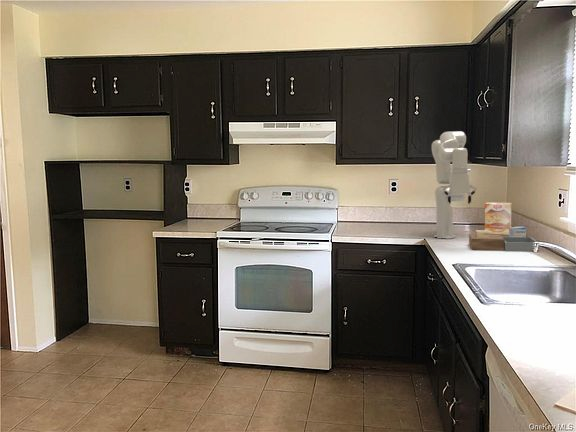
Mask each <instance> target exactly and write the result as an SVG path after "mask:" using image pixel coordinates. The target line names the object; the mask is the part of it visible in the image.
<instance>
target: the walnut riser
mask: <svg viewBox="0 0 576 432" xmlns="http://www.w3.org/2000/svg"><path fill="white" fill-rule="evenodd" d="M503 237H504V236H502V234H489V238H477V237H476V233H473V234H472V233H469V235H468V246H469V248H470V249H471V250H472V251H502V252H504V251H505V250H504V248H505V239H504V238H503Z"/></svg>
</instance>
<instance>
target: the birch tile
mask: <svg viewBox="0 0 576 432" xmlns="http://www.w3.org/2000/svg"><path fill="white" fill-rule="evenodd" d="M475 234H476V237H477V238H489V231H488V230H485V229H484V230H483V229H482V230H480V229H479V230H477V229H476V230H475Z"/></svg>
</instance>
